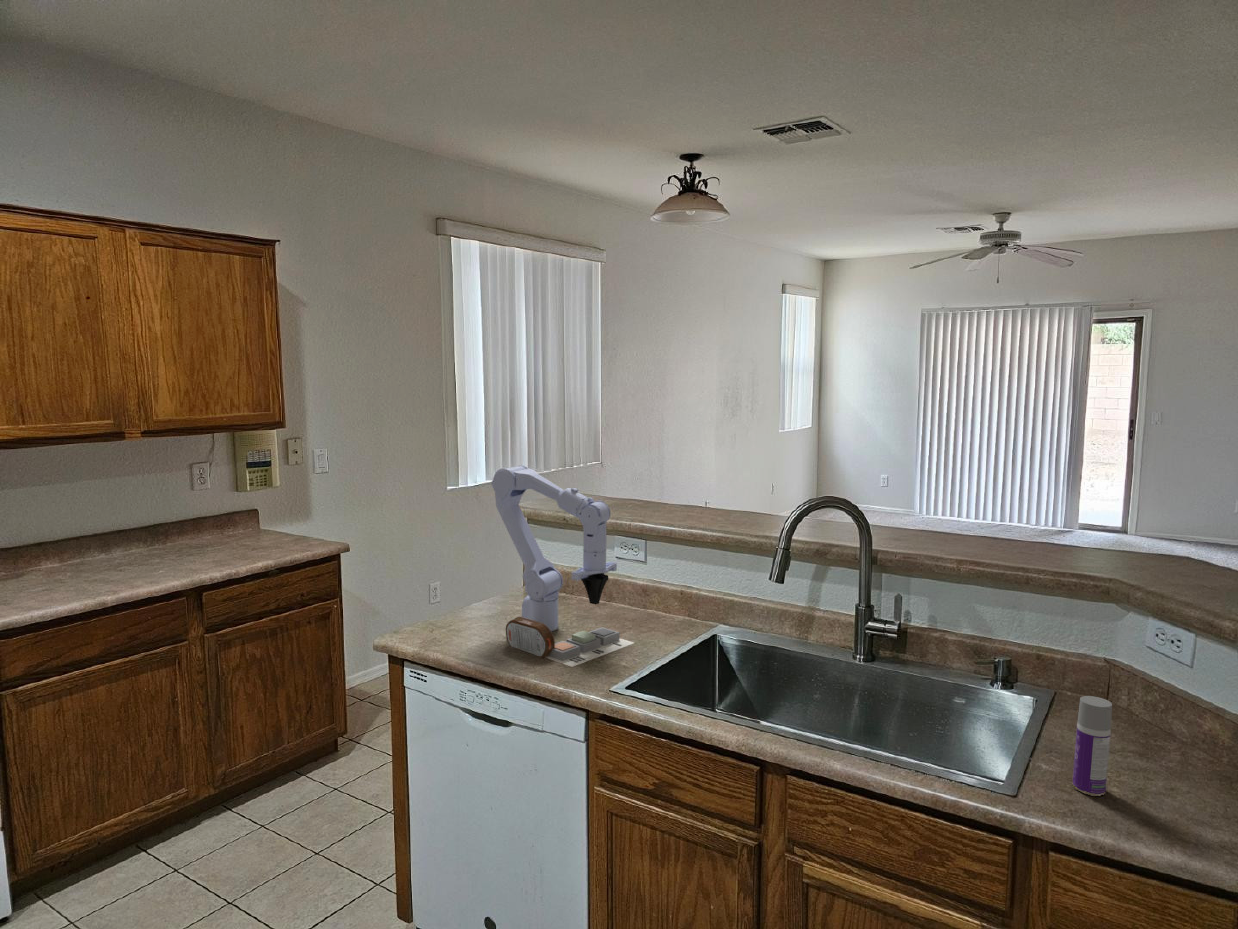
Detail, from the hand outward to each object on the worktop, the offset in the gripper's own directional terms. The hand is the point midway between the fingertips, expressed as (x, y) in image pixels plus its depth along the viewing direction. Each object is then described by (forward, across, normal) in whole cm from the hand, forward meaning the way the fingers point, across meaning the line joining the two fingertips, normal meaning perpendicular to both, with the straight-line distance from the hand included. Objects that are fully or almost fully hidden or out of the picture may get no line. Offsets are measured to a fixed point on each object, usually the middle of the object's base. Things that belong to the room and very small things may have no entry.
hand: (594, 603), depth 197 cm
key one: (+8, -1, -4) cm, 9 cm away
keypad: (+9, -8, -5) cm, 13 cm away
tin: (+10, -18, +4) cm, 21 cm away
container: (+10, +2, -109) cm, 109 cm away
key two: (+7, -8, -4) cm, 11 cm away
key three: (+8, -15, -4) cm, 18 cm away
